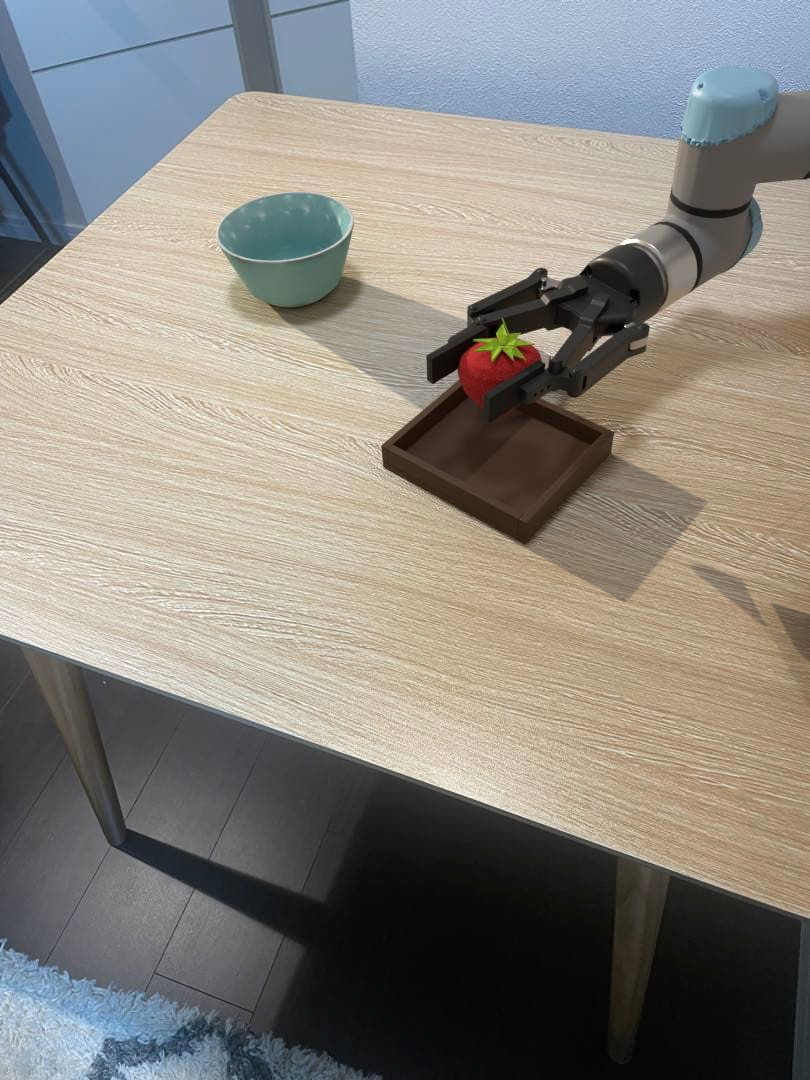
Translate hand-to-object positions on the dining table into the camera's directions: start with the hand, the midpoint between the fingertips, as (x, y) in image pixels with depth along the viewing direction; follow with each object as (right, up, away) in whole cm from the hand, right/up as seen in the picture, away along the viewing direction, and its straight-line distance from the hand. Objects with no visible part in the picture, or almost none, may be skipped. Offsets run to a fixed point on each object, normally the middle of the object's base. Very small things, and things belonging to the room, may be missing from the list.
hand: (457, 388), depth 78 cm
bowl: (-18, +17, +32) cm, 41 cm away
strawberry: (+4, -2, +7) cm, 8 cm away
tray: (+4, -5, +11) cm, 13 cm away
